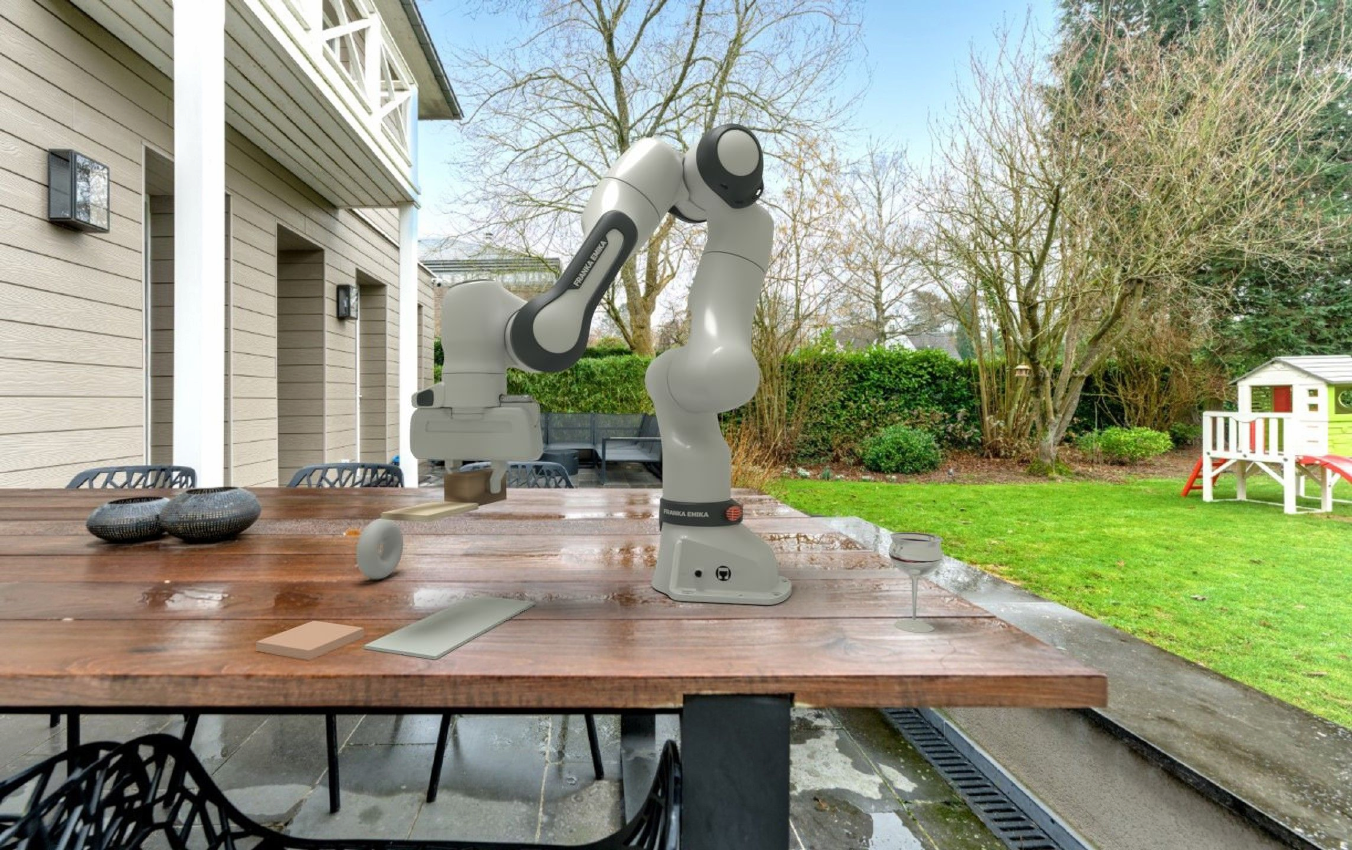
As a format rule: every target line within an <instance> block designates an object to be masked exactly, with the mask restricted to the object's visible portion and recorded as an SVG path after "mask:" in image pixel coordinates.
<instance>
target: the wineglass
mask: <svg viewBox="0 0 1352 850" xmlns="http://www.w3.org/2000/svg"><path fill="white" fill-rule="evenodd" d="M889 536H890V538H891V543H890V545H889V549H888V555H889V557H890V561H891V562H892V563H893V564H894V565H895V567H896V568H897V570H899V571H900V572H902V573H905V574H906V575H908V577H909V579H910V580H911V604H912V607H911V608H912V610H911V611H912V619H902V620H901V619H900V620H897V621H894V626H895V627H897V629H900V630H902V631H906V632H911V633H929V632H933V631H934V628H935V627H934V626H933V625H931V624H929V623H927V622H925V621H921V620H918V619H917V604H918V603H917V602H918V587H919V585H918V584H919V580H921V579H922V578H923V577H924V576H926V575H928V574H932V573H933V572H934V571H935V570H936V569H937V568H938V567H939V566H940V564H941V563H942V560H943V556H944V555H943V553H944V552H943V549H942V547H941V543H942V541H943V537H941V536H939V535H937V534H936V535H935V534H930V533H924V532H914V531H912V532H910V531H900V532H892V533H890V534H889Z"/></svg>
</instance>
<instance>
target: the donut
mask: <svg viewBox="0 0 1352 850" xmlns="http://www.w3.org/2000/svg"><path fill="white" fill-rule="evenodd" d="M380 549H381V550H380ZM355 550H356V553H355V557H356V563H357V566H358V568H359V571H360V572H361V573H362V574H363V575H364V577H366V578H369V579H371V580H381V579H385V578H387V577H388V576H389V575H391V574H392V573H393V572H394V570H395V569H396V568H397V567H398V565H399V563H400V561H401V558H402V555H403V552H404V551H403V550H404V535H403V533H402V530H401V527H400V526H399V525H398V523H397V522H395V520H386V519H381V517H380V518H377V519H375V520H373V521H371V522H369V523H368V524H367V526H365V528H364V529H363V530H362V532H361V533H360V535H359V537H358V541H357V545H356V549H355Z"/></svg>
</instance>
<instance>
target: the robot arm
mask: <svg viewBox="0 0 1352 850" xmlns="http://www.w3.org/2000/svg"><path fill="white" fill-rule="evenodd" d="M764 160H765V159H764V153H763V149H762V147H761V144H760V141H759V138H758V137H757V136H756V134H754V132H752V131H751V130H750V129H749V128H748V127H746V126H744V125H742V124H739V123H725V124H721V125H718V126H716V127H714V128H712V129H710V130H708V131H707V132H705V134H703V136H702V137H701V138H700V139H699V140H698V141H696V142H695V143H694V144H692V146H691V147H690V148H689V149H688V150H687V151H685V152H681V151H677V150H675V148H673V147H672V146H671V145H670V144H668V142H665V141H664V140H662V139H659V138H656V137H643V138H640V139H638V140H636V141H635V142H634V143H633V144H632V145H630V147H628V148H627V149H626V150H625V151H624V152H623V153H622V155H620V156H619V157H618V159H616V161H615V162H614V163H613V164H612V165H611V166H610V168H609V169H608V170H607V171H606V172H605V174H604V175H603V176H602V178H601V179H600V181H599V182H598V184H597V185H596V186H595V188H594V189H593V191H592V193H591V195H590V197H589V198H588V200H587V203H586V204H585V206H584V208H583V211H582V213H581V216H580V225H581V229H582V233H583V236H584V237H583V239H582V242H581V245H580V246H579V247H578V249H577V251H576V252H575V254H574V255H573V257H572V258H571V260H570V262H568V264H567V266H566V267H565V269H564V270H563V272H562V273H561V275H560V276H559V278H558V279H557V281H556V282H555V283H554V285H552V286H551V287H550V289H548V290H547V291H545V292H544V293H541V294H540V295H538V296H536V297H534V298H532V299H531V300H529V301H527V300H525V299H523V298H521V297H519V296H518V295H516V294H514V293H513V292H511V291H510V290H508V289H506V288H505V287H504V286H503V285H502V284H501V283H500V282H499V281H498V280H494V279H489V278H488V279H487V278H478V279H471V280H465V281H461V282H456V283H455V284H454V285H452V286H451V287H450V288H449V289H448V290H447V291H446V292H445V294H444V296H443V300H442V307H441V314H440V320H441V321H440V343H441V348H442V351H443V357H444V358H443V359H444V360H443V363H442V364H443V365H442V368H441V381H439V382H436V383H435V384H433V385H431V386H428V387H426V388H423V389H420V390H418V391H416V392H413V393H412V394H411V398H410V399H411V400H410V401H411V406H412V407H413V408H415V410H414V411H413V413H412V414H411V416H410V422H409V424H410V425H409V449H410V452H411V453H410V454H412V456H413V457H414V458H415V459H417V460H439V461H440V460H443V461H444V469H445V470H446V471H447V474H452V473H458V472H462V471H461V468H460V467H463V461H477V462H478V461H482V462H483V461H485V462H487V461H489V462H490V469H494V471H493V474H492V476H491V478H490V480H486V481H485V492H486V493H499V492H500V490H501V479H502V477H503V476H504V474H505V472H506V473H507V470H508V468H509V464H508V462H516V463H517V462H521V463H524V462H525V463H526V462H535V461H538V460H539V459H540V458H541V457H542V456H543V454H544V443H543V434H542V428H541V427H542V426H541V422H540V420H541V406H540V404H539V402H538V401H537V400H536V399H535V398H533V397H531V395H530V394H518V395H517V394H508V393H507V392H508V390H507V389H508V386H507V384H508V383H507V382H508V380H507V379H508V378H507V370H508V368H511V369H515V370H516V369H517V370H520V371H523V372H526V373H531V374H532V373H533V374H534V373H535V374H537V373H546V374H547V373H549V374H553V373H560V372H563V371H566V370H568V369H570V368H572V367H573V366H574V365H576V364H577V362H579V361H580V360H581V358H582V357H583V355H584V354H585V353H586V349H587V348H588V347H587V345H588V343H589V338H590V332H591V327H592V326H591V325H592V321H593V317H594V314H595V311H596V310H597V308H598V307H599V304H600V303H601V301H602V299H603V297H604V296H605V295H606V292H607V291H608V290H609V288H610V287H611V285H612V283H613V282H614V280H615V278H616V277H617V275H618V274H619V272H620V271H621V269H622V268H623V266H624V265H625V264H626V263H627V262H628V261H629V260H630V259H631V258H633V256H635V255H636V254H637V253H638V252H639V251H640V250H641V249H642V247H644V245H645V244H646V243H647V242H648V241H649V240H650V238H651V236H653V234H654V233H655V232H656V230H657V228H658V227H659V225H661V223H662V221H663V220H664V218H665V216H666V214H667V213H668V214H671V215H672V216H673V217H675V218H676V219H678V220H679V221H681V222H683V223H685V224H692V225H693V224H694V225H698V224H703V223H706V226H707V235H706V236H707V238H706V242H705V246H704V248H703V249H702V254H701V256H700V260H699V263H698V266H697V269H696V270H695V271H696V272H695V274H694V279H693V281H692V284H691V287H690V290H689V293H688V296H687V306H688V309H689V311H690V329H689V330H690V332H689V336H688V339H687V342H686V343H685V345H684V346H677V347H672V348H669V349H666V350H665V351H663V352H662V353H660V354H659V355H658V356H657V357H655V358H654V359H653V360H652V361H651V362H650V363H649V364H648V365H649V366H648V367H647V368H646V371H645V375H644V376H645V377H644V384H645V389H646V392H647V393H648V396H649V397H650V399H651V400H652V402H653V406H654V410H655V412H654V413H655V415H656V416H655V417H656V420H657V426H658V429H659V430H658V431H659V435H660V441H661V443H660V444H661V451H662V496H661V497H660V499H659V508H658V525H659V526H658V527H659V532H660V537H659V538H660V539H659V540H660V541H659V547H658V555H657V561H656V565H655V570H654V573H653V576H652V579H651V583H650V584H651V586H652V588H654V589H655V590H656V591H659V592H661V593H663V594H665V595H668V597H669V598H670V599H672V600H674V601H678V602H679V601H680V602H700V603H702V602H703V603H704V602H705V603H720V604H721V603H722V604H743V605H744V604H746V605H747V604H748V605H765V606H766V605H767V606H769V605H776V604H780V603H781V602H784V601H786V600H787V599H789V597H790V596H791V595H792V592H793V584H792V582H791V580H790V579H789V578H787V577H785V576H782V575H779V568H778V561H777V557H776V553H775V551H774V549H773V547H771V545H770V544H768V543H767V542H766V541H764V540H763V539H762V538H761V537H759V536H758V535H757V534H756V533H755V532H753V531H752V530H751V529H750V528H749V527H748V526H746V525H745V524H744V523H743V522H744V520H743V519H744V510H745V508H744V507H745V505H744V503H743V502H741V503H739V502H738V501H736V500H734V499H733V498H732V496H731V495H732V493H731V492H732V452H731V448H730V446H729V444H728V443H727V442H726V440H725V438H724V436H723V433H722V431H721V428H720V423H719V419H718V414H721V413H725V412H729V411H731V410H735V409H737V408H740V407H741V406H744V405H746V404H747V403H748V402H750V401H751V400H752V399H753V398H754V397H755V395H756V393H757V391H758V388H759V385H760V380H761V378H760V377H761V376H760V375H761V373H760V366H759V364H758V361H757V359H756V357H755V356H754V354H753V351H752V334H753V333H752V330H753V323H754V317H755V313H756V309H757V306H758V303H759V299H760V295H761V292H762V288H763V285H764V282H765V278H766V275H767V272H768V268H769V264H770V260H771V254H772V248H773V243H774V235H775V234H774V233H775V223H774V220H773V219H774V218H773V216H772V215H771V214H770V212H769V211H768V209H766V208H765V207H763V206H762V205H760V204H758V203H757V201H758V200H759V199H760V198H761V196H762V195H763V193H764V190H765V183H764V178H763V177H764V176H763V174H764V168H765V167H764V163H765V162H764ZM758 192H759V193H758Z"/></svg>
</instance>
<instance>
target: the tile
mask: <svg viewBox="0 0 1352 850" xmlns="http://www.w3.org/2000/svg"><path fill="white" fill-rule="evenodd" d="M364 638H365V627H360V626H352V625H347V624H339V623H334V622H326V621H318V620H312V621H309V622H306V623H303V624H301V625H298V626H296V627H293V628H290V629H287V630H285V631H282V632H279V633H275V634H274V635H271V636H267V637H266V638H265V637H264V638H262V639H260V640H257V641H256V642H255V645H256V646H255V648H256V649H255V651H256V652H258V651H261V652H260V653H263V652H265V653H264V654H269V653H270V655H275V656H280V657H281V656H283V657H288V658H292V657H293V659H299V660H305V661H312V660H313V659H316V658H319V657H321V656H324V655H325V654H328V653H330V652H329V651H331V652H333V651H335V650H337V648H338V649H340V648H342V647H344V646H347V645H349V644H351V643H354V642H356V641H358V640H361V639H364ZM332 650H333V651H332ZM318 656H319V657H318Z"/></svg>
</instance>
